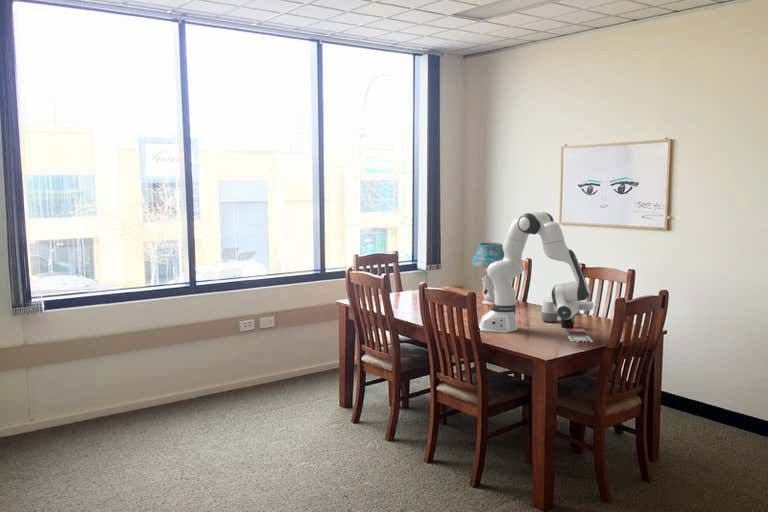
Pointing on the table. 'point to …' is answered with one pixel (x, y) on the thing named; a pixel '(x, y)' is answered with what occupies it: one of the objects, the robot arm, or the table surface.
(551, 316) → the smart speaker
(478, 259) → the table lamp
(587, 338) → the sheet
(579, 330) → the ink pad
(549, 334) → the table surface
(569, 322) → the coffee mug
